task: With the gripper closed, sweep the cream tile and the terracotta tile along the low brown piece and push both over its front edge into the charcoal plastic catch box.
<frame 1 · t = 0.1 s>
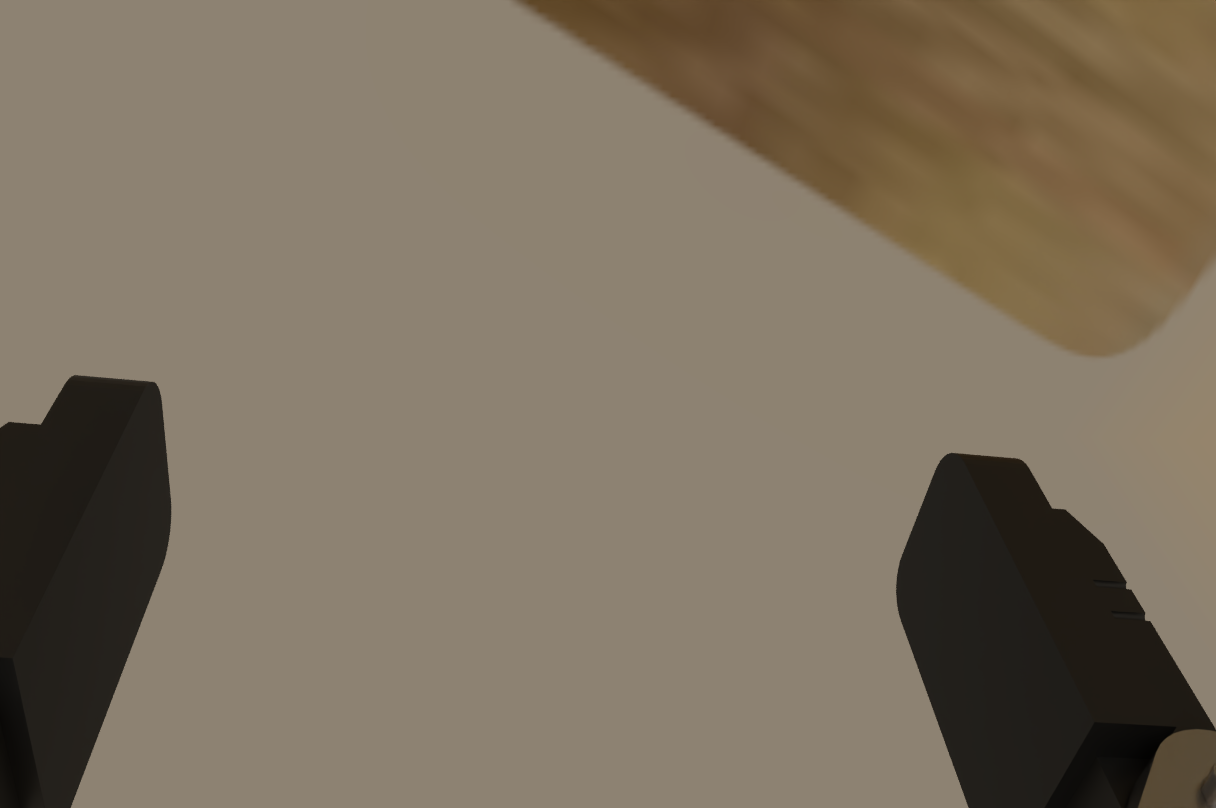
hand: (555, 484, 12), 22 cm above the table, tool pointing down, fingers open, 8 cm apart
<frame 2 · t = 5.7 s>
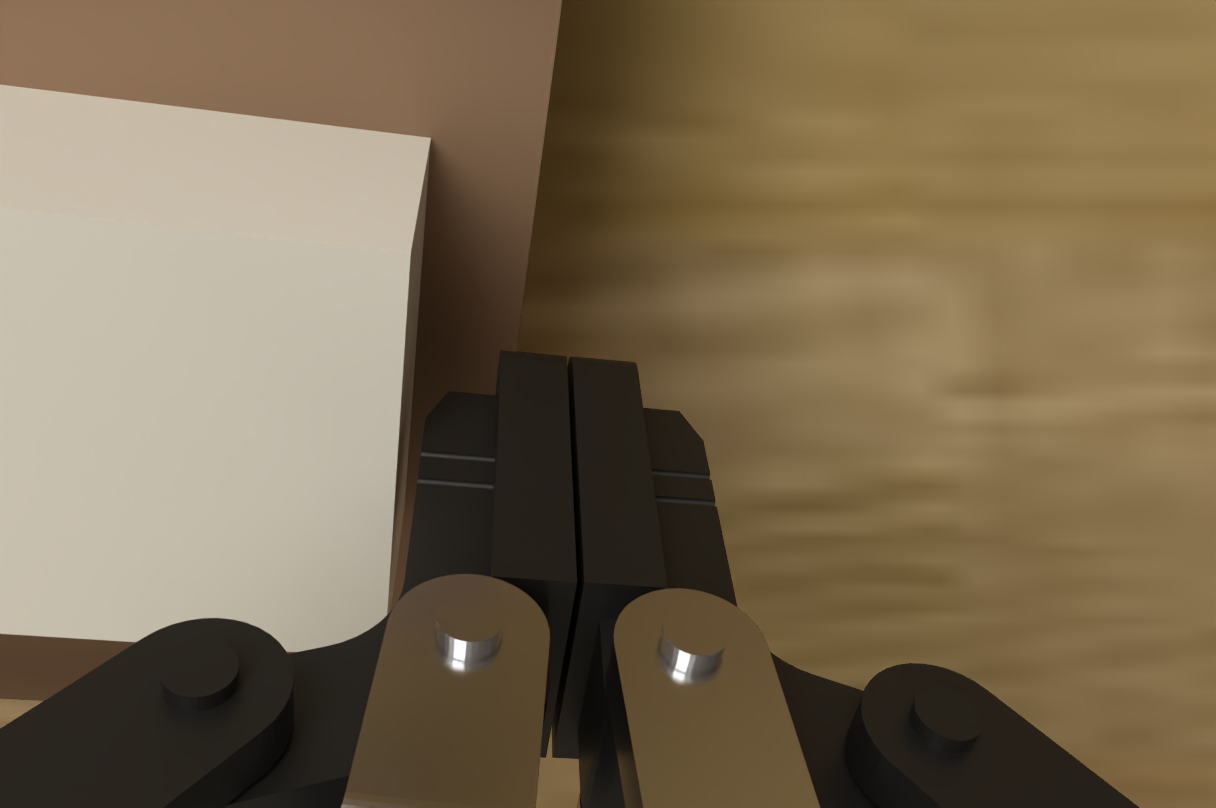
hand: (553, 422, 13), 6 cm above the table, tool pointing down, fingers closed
brown piece: (68, 125, 17), on the table
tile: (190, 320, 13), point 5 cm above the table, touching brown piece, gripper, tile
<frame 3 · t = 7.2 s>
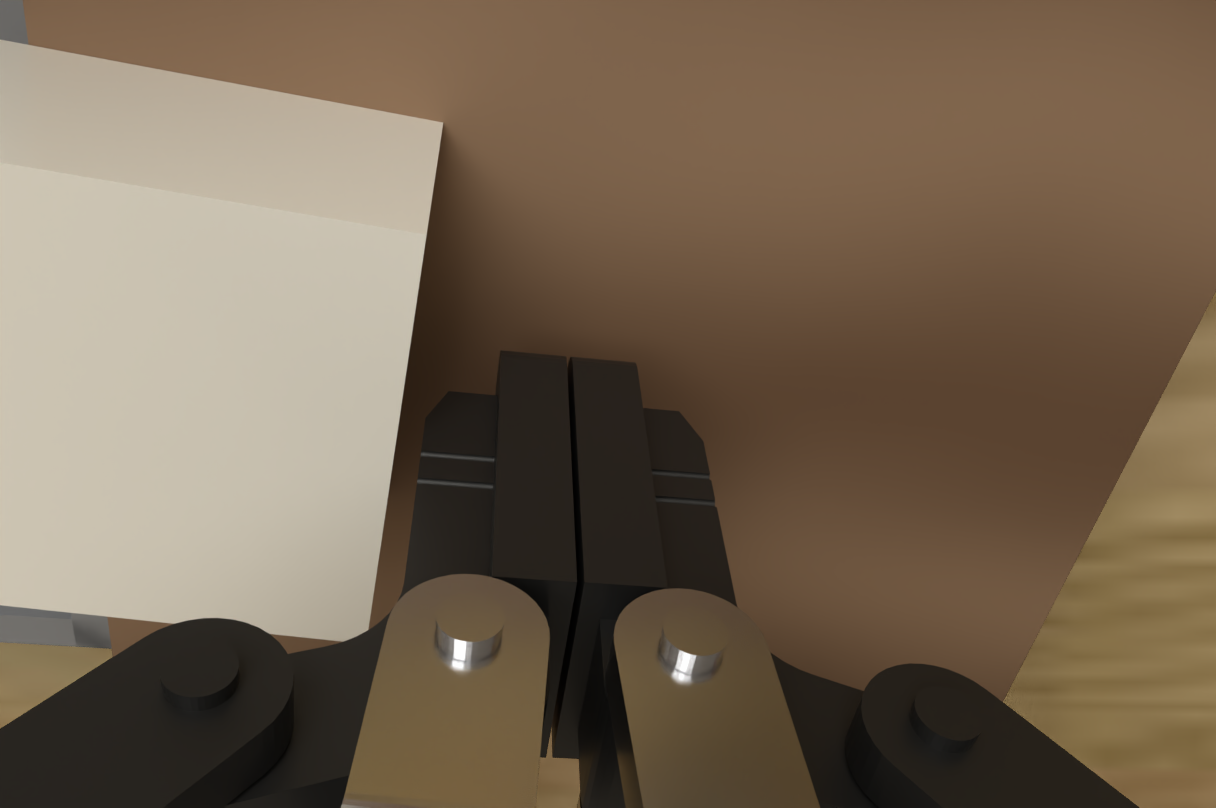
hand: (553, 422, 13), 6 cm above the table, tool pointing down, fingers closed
brown piece: (615, 191, 18), on the table
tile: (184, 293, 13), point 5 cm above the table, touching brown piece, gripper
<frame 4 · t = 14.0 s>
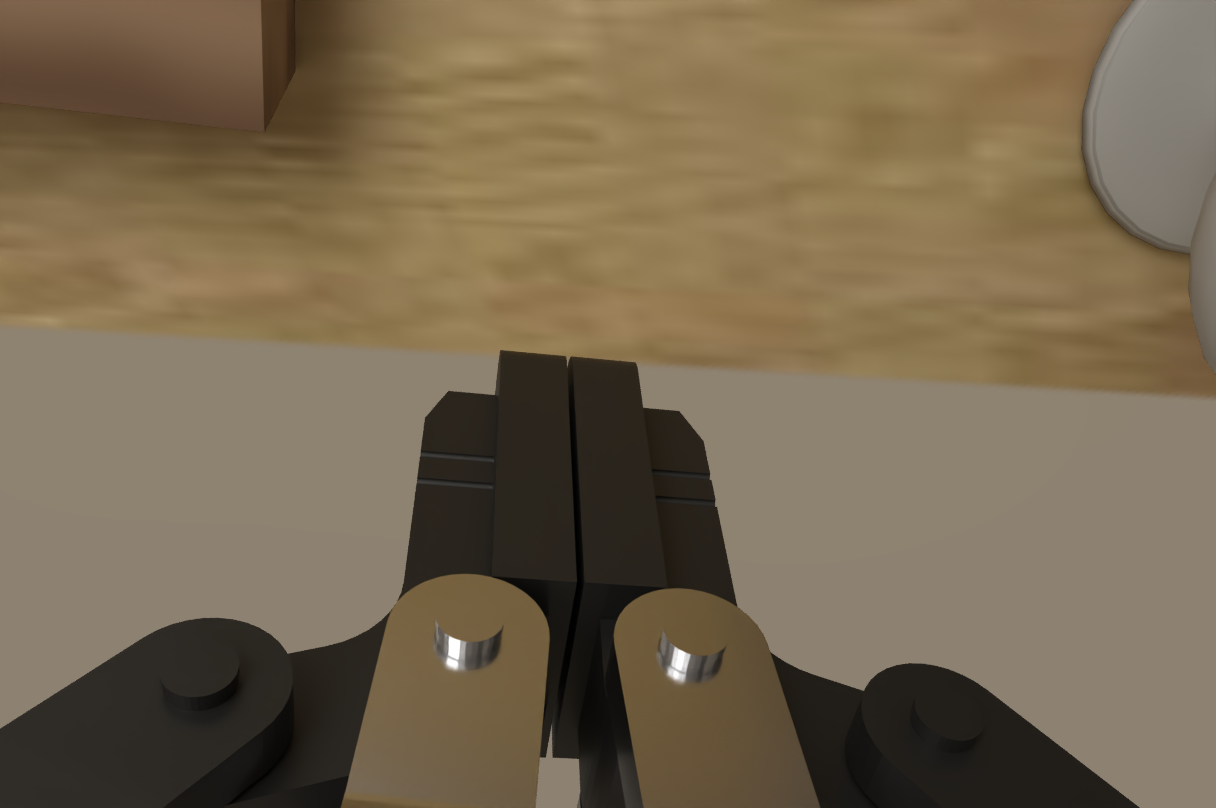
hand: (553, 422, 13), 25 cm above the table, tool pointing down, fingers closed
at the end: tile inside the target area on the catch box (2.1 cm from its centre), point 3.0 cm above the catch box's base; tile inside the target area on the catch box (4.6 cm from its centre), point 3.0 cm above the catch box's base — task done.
